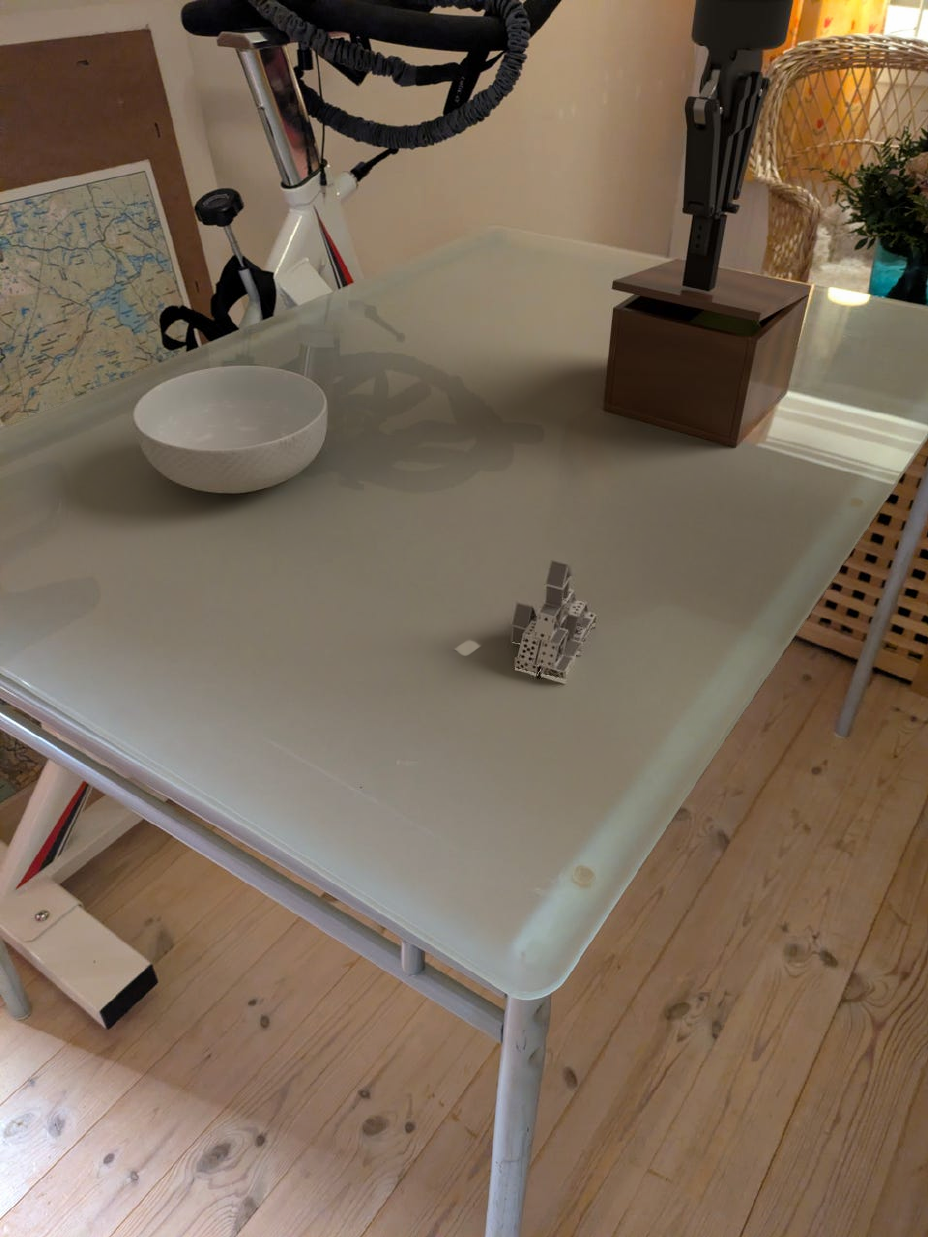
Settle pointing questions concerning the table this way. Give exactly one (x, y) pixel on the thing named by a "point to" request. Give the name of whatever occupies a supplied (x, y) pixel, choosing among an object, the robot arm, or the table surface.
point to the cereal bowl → (232, 427)
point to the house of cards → (551, 626)
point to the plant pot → (727, 323)
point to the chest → (698, 368)
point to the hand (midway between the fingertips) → (698, 286)
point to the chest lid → (715, 290)
